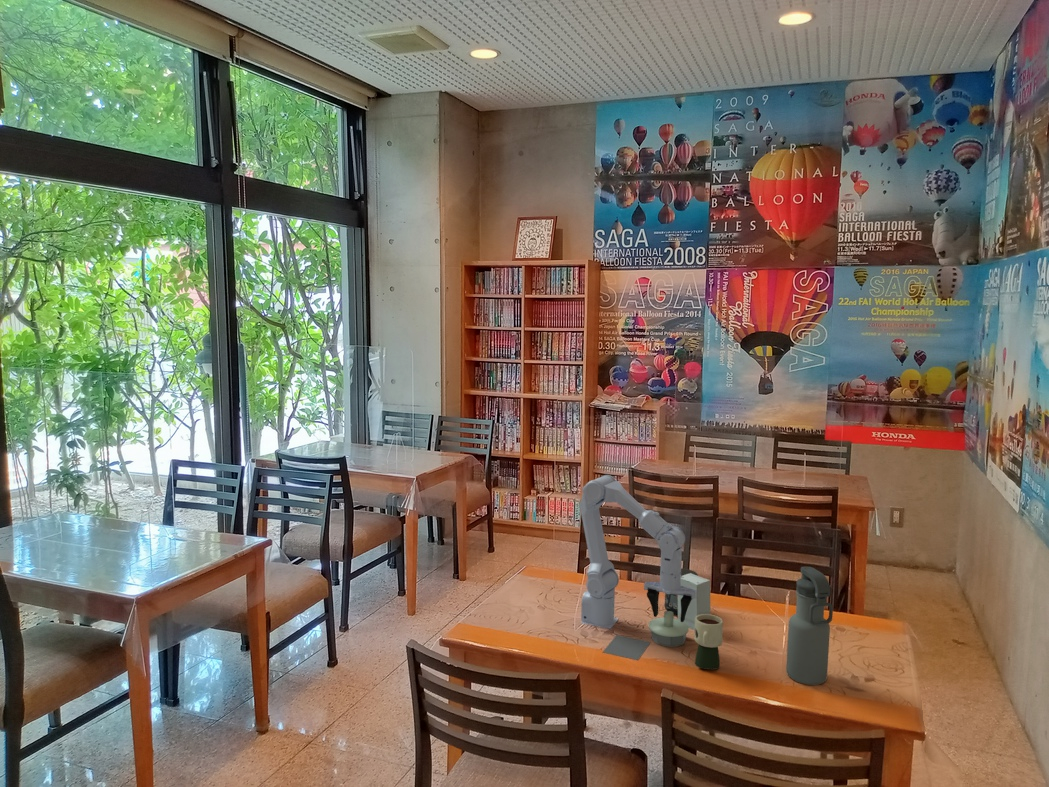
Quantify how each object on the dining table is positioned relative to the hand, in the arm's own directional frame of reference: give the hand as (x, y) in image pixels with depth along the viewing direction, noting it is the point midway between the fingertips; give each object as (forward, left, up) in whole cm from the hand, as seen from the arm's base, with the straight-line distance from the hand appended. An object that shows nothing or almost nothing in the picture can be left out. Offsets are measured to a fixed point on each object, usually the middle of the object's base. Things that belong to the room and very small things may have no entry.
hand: (669, 618), depth 205 cm
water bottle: (+37, -4, -7) cm, 38 cm away
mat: (-9, -10, -7) cm, 15 cm away
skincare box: (+4, +13, -7) cm, 15 cm away
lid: (0, 0, -3) cm, 3 cm away
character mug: (+13, -10, -7) cm, 18 cm away
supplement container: (-2, +23, -7) cm, 24 cm away
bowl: (0, 0, -7) cm, 7 cm away
